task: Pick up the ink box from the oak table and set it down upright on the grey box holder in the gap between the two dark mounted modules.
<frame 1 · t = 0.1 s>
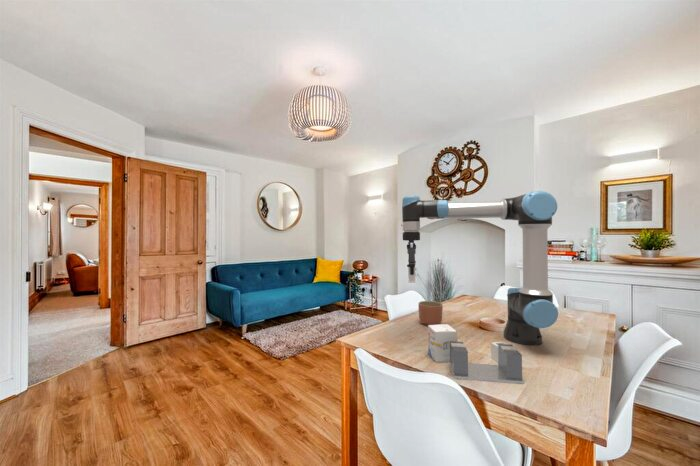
hand: (411, 279, 128), 28 cm above the table, fingers open, 13 cm apart
loose module: (503, 361, 110), on the table
ink box: (442, 357, 114), on the table
planter: (430, 324, 155), on the table
grey box holder: (483, 373, 101), on the table
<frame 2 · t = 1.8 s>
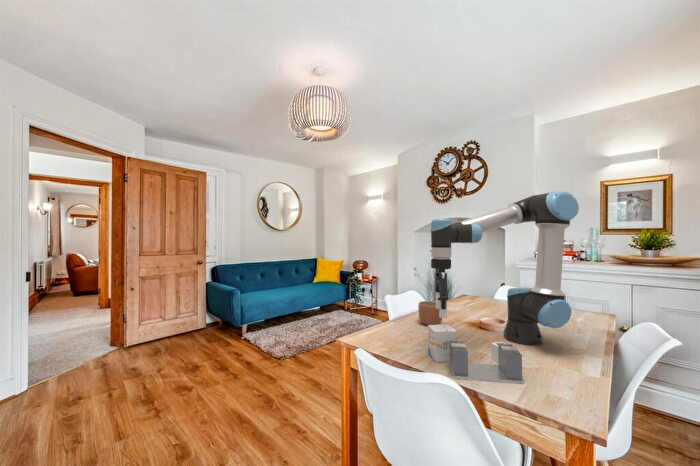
hand: (440, 312, 114), 17 cm above the table, fingers open, 13 cm apart
nothing on the table moved.
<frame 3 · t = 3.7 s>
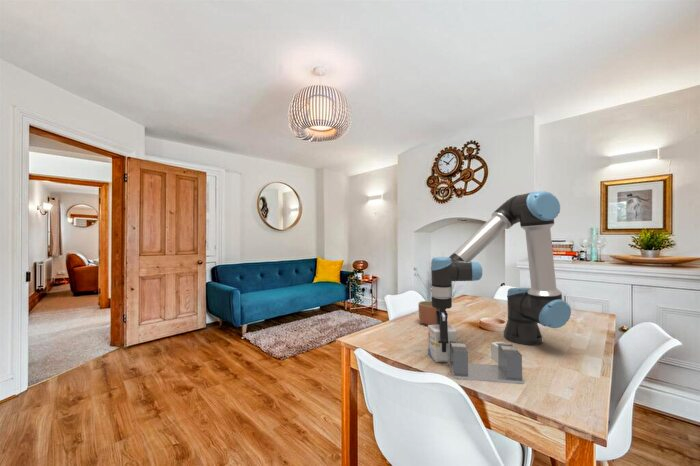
hand: (442, 354, 114), 1 cm above the table, fingers closed on ink box, 10 cm apart
ink box: (442, 357, 114), on the table, touching gripper
everything else where it was.
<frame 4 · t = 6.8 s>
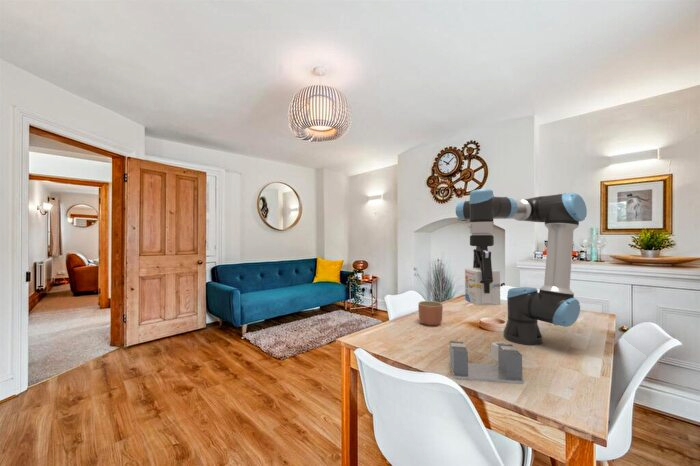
hand: (482, 299, 101), 25 cm above the table, fingers closed on ink box, 10 cm apart
ink box: (482, 303, 101), point 24 cm above the table, touching gripper
everything else where it was.
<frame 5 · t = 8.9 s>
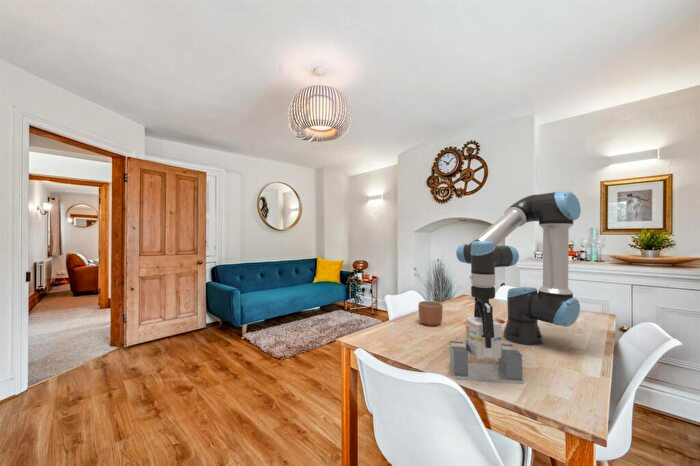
hand: (483, 350, 101), 8 cm above the table, fingers closed on ink box, 10 cm apart
ink box: (483, 354, 100), point 6 cm above the table, touching gripper
everything else where it was.
when the fingers open (3 cm above the table, at t = 10.3 s): ink box drops 1 cm, resting on grey box holder.
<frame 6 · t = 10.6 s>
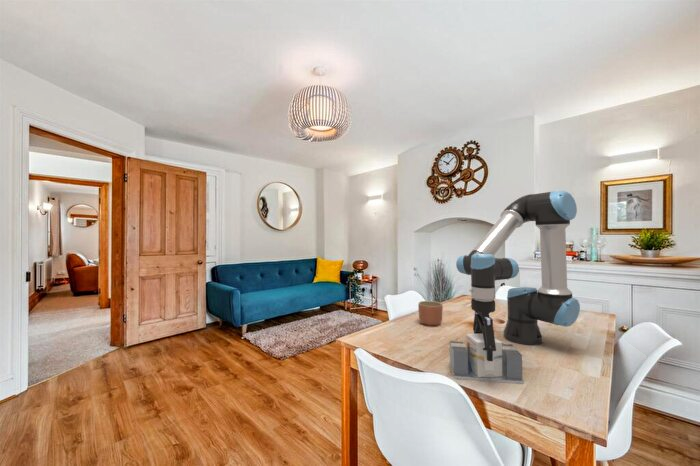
hand: (483, 361, 101), 4 cm above the table, fingers open, 13 cm apart
ink box: (484, 371, 100), point 1 cm above the table, touching grey box holder
everything else where it was.
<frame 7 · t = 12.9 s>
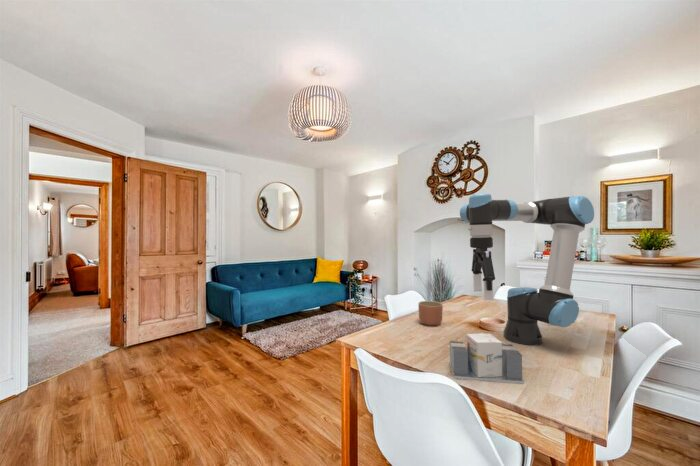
hand: (482, 295, 106), 26 cm above the table, fingers open, 13 cm apart
nothing on the table moved.
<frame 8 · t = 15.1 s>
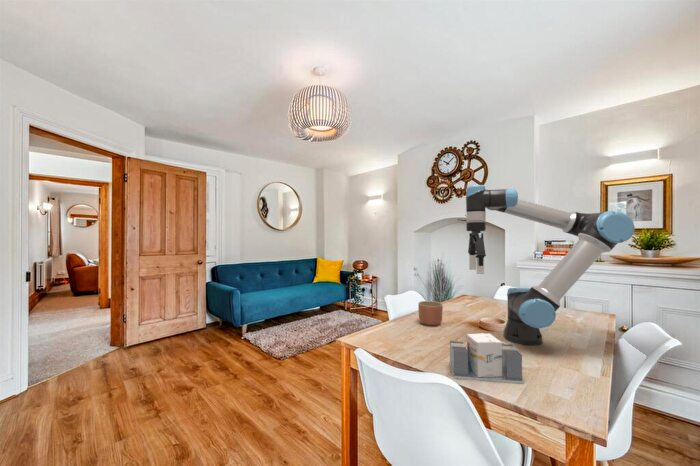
hand: (476, 271, 124), 32 cm above the table, fingers open, 13 cm apart
nothing on the table moved.
at the end: ink box inside the target area (0.3 cm from its centre), point 0.6 cm above the table; ink box tilted 0°; the gripper is holding nothing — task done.
